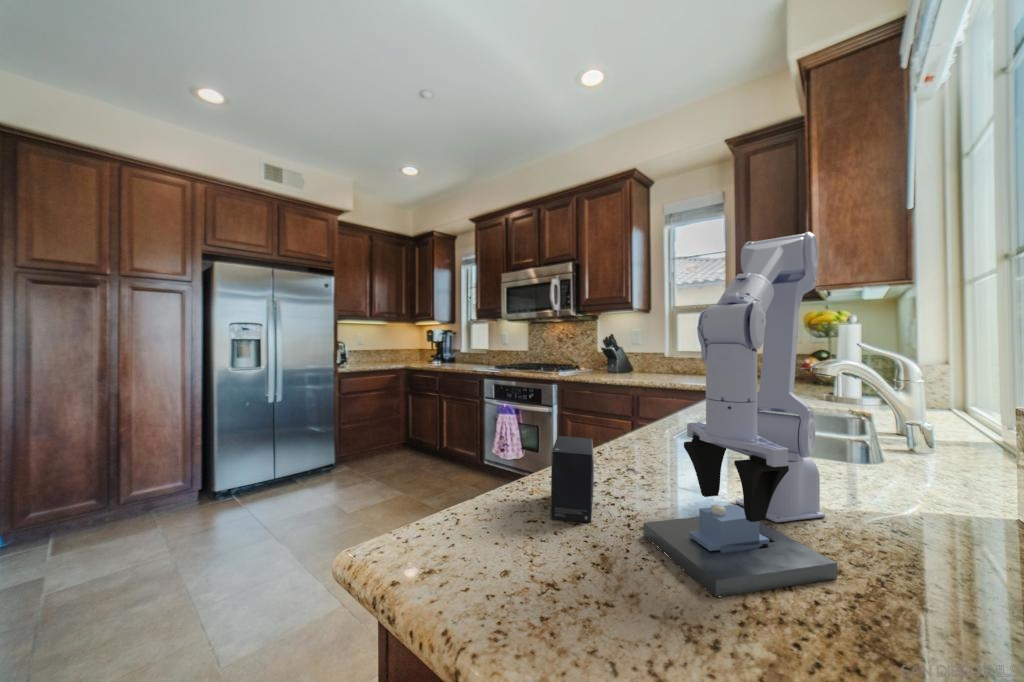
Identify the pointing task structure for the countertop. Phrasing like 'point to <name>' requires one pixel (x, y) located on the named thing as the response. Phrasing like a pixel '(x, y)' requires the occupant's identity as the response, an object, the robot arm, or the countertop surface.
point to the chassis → (740, 559)
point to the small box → (572, 479)
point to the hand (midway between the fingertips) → (731, 506)
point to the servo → (727, 530)
